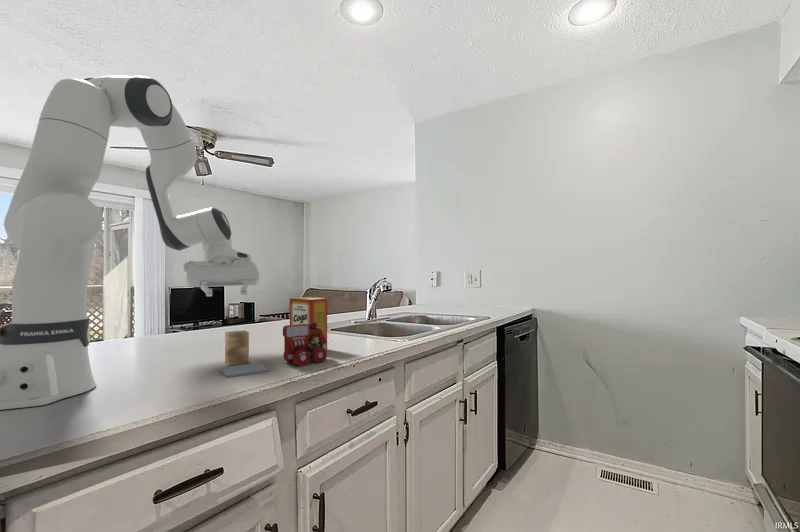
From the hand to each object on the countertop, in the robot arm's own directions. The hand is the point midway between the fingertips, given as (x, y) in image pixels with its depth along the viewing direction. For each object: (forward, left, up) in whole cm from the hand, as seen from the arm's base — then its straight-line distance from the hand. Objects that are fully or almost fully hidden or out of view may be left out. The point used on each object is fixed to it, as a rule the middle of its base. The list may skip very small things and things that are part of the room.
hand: (227, 294), depth 113 cm
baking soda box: (+22, -8, -17) cm, 29 cm away
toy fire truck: (+15, -24, -18) cm, 33 cm away
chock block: (0, -14, -17) cm, 22 cm away
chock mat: (-1, -24, -17) cm, 29 cm away
